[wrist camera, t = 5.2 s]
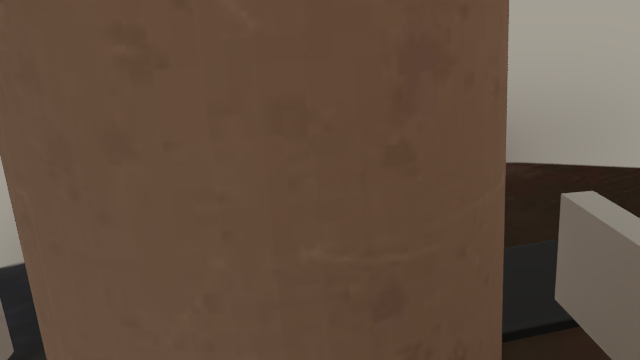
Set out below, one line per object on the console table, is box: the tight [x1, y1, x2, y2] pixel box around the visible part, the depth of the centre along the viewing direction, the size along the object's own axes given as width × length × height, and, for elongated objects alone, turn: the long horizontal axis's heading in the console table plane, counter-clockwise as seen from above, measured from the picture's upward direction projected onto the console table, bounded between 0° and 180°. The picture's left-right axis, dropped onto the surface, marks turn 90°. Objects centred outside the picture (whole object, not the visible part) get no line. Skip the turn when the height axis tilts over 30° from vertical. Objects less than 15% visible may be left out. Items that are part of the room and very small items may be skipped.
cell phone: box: [502, 239, 580, 342], centre depth 34 cm, size 9×18×1 cm, turn 104°
